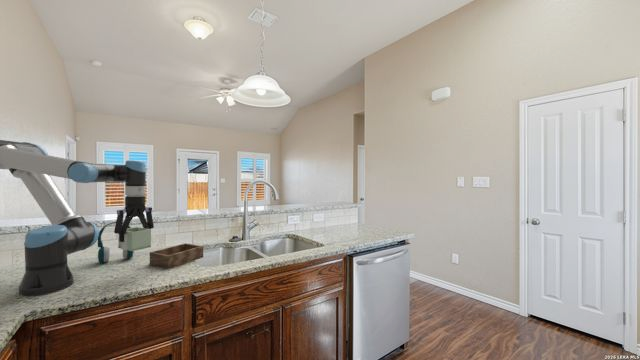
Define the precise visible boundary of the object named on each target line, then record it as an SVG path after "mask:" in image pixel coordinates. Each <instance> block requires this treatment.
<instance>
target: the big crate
mask: <svg viewBox="0 0 640 360" xmlns="http://www.w3.org/2000/svg"><path fill="white" fill-rule="evenodd" d="M202 258H204V246H203V245H197V244H192V243H181V244H178V245H174V246H170V247H165V248H162V249H157V250H155V251H150V252H149V265H150V266H155V267H159V268H162V269H167V270H169V269H173V268H175V267H178V266H181V265H183V264H187V263H191V262H193V261H196V260H199V259H202Z"/></svg>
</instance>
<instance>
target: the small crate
mask: <svg viewBox="0 0 640 360" xmlns="http://www.w3.org/2000/svg"><path fill="white" fill-rule="evenodd" d="M125 234H127V249H126V250H129V251H134V252H135V251H140V250H144V249H147V248H148V249H149V248H152V228H151V229H147V228H143V227H142V226H141V227H140V226H134V227H131V228H127V230H126V232H125ZM117 240H118V249H121V242H120V241H119V239H117Z"/></svg>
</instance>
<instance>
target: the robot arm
mask: <svg viewBox="0 0 640 360" xmlns="http://www.w3.org/2000/svg"><path fill="white" fill-rule="evenodd" d="M146 164H147V163H146V162H145V161H142V160H126V161H125V164H109V163H108V164H107V163H92V162H91V163H90V162H86V161H80V160H74V159H69V158H64V157H58V156H53V155H50V154H49V153H48V151H47V150H46V149H45V148H44V147H42V146H41V145H39V144H35V143H31V142H25V141H23V142H20V141H11V140H4V139H0V170H9V172H10V174H11V175H12V177H14V178H16V179H20V180H21V181H22V182H23V184H24V185H25V187H26V188H27V190H28V191H29V193H30V194H31V196H32V197H33V199H34V200H35V202H36V203H37V205H38V206H39V207H40V209H41V211H42V212H43V213H44V215H45V216H46V218H47V220H48V221H49V222H50V224H51V225H49V226H42V227H38V228H35V229H32V230H30V231H28V232H27V233H26V234H25V236H24V242H23V244H24V245H23V246H24V267H25V268H24V269H25V270H24V274H23V277H22V279H21V282H20V284H19V286H18V295H20V296H23V297H24V296H25V297H30V296H39V295H46V294H50V293H54V292H58V291H60V290H64V289H66V288H68V287H70V286H72V285H73V284H74V275H73V273H72V271H71V269H70V266H69V264H68V255H71V254H74V253H77V252H80V251H84V250H87V249H88V248H91V247H92V246H94V245H95V244H96V243H97V242H98V237H99V232H100V230H99V228H98V226H97V225H96V224H95V223H93V222H90V221H86V219H85V218H84V217H83V216H82V215H78V214H76V212H75V211H74V209H73V208H72V206H71V205H70V203H69V202H68V200H67V199H66V198H65V196H64V194H63V193H62V192H61V190H60V188H59V187H58V185H57V184H56V183H55V180H53V178H52V177H57V178H64V179H67V180H68V179H69V180H71V181H73V182H75V183H81V184H88V183H110V182H113V183H124V185H125V187H124V188H125V189H124V195H126V196H125V197H124V205H125V206H124V208H123V209H117V210H116V214H117V215H116V221H115V222H116V223H115V227H114V230H113V232H114V234H117V235H118V240H119V241H120V242H121V248H120V250H123V249H124V250H126V249H127V234H125V232H126V230H127V228H128V226H130V224H131V222H132V220H133V219H134V218H136V217H137V218H138V219H139V221H140V224H141V225H142V226H141V227H142V228H147V229H151V230H152V229H153V228H154V220H153V211H152V210H153V207H150V206H148V207H147V206H146V200H147V199H146V196H145V195H146V189H147V188H146V179H147V166H146ZM51 176H52V177H51ZM144 212H145V213H144ZM125 213H126V215H125ZM124 216H125V217H124ZM122 223H123V224H122Z"/></svg>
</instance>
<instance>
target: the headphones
mask: <svg viewBox="0 0 640 360" xmlns="http://www.w3.org/2000/svg"><path fill="white" fill-rule="evenodd" d="M112 224H116V221H114V222H113V221H112V222H110V223H107V224H105V225H104V226H103V227H101V229H100V230H99V237H98V240H97V242H96V243H97V247H98V248H99V249H98V251H97V259H98V262H99V263H102V264H104V263H107V262H109V261H110V258H111V257H110V256H111V255H110V247H109V246H104V245H103V244H104V243H103V240H102V239H103V238H102V237H103V236H102V235H103V233H104V231H105V229H106V227H107V226H109V225H112ZM122 225H123V223H122ZM128 228H132V227H131V226H130V225H129V226H128ZM134 252H135V251H129V250H124V249H122V257H123V259H127V260H130V259H131V258H133V256H134Z"/></svg>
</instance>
